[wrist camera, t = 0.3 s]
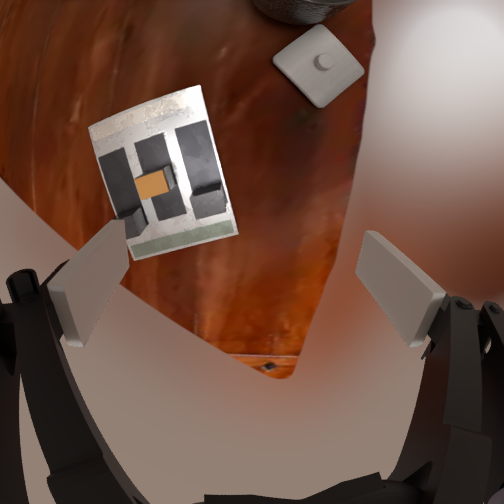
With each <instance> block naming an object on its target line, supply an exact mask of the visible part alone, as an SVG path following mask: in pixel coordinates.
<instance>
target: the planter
mask: <svg viewBox="0 0 504 504" xmlns="http://www.w3.org/2000/svg"><path fill="white" fill-rule="evenodd" d="M355 1H356V0H252V2H253V3H254V4H255V6H256V7H257V8H258V9H259V10H260V11H261V12H263V13H264V14H266V15H267V16H269V17H271V18H273V19H275V20H277V21H280V22H283V23H287V24H293V25H309V24H314V23H318V22H321V21H324V20H326V19H328V18H330V17H332V16H334V15H336V14H337V13H339V12H340V11H342V10H343V9H345V8H346V7H348V6H349V5H350V4H352V3H353V2H355Z"/></svg>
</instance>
